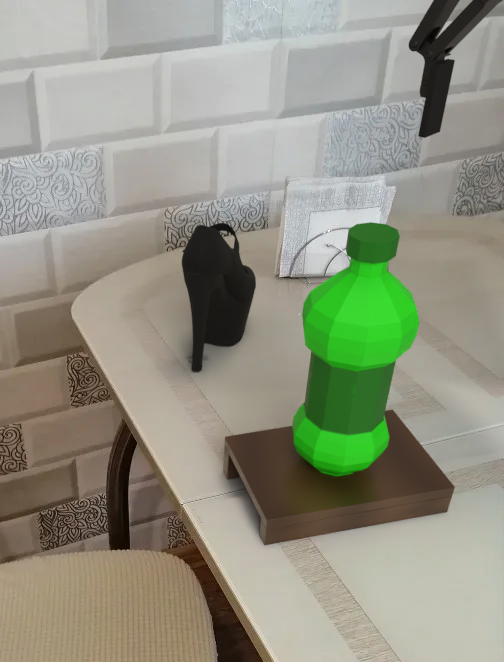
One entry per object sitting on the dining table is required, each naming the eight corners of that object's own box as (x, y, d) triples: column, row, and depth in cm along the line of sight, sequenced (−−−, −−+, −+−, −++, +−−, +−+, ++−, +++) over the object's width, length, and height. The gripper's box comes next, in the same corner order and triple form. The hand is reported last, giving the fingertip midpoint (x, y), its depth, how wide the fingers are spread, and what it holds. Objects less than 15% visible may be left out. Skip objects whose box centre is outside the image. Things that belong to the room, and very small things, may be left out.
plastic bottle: (377, 431, 88) (424, 208, 71) (390, 495, 80) (446, 260, 63) (285, 428, 89) (310, 207, 72) (289, 490, 81) (318, 259, 64)
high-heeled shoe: (262, 317, 117) (273, 181, 104) (217, 385, 105) (223, 239, 91) (211, 308, 120) (215, 174, 107) (161, 372, 107) (159, 229, 94)
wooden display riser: (385, 443, 94) (392, 409, 91) (444, 522, 84) (455, 487, 81) (222, 470, 91) (224, 436, 88) (263, 556, 81) (267, 520, 78)
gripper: (398, -134, 67) (359, 131, 81) (719, -130, 53) (605, 191, 67) (447, -139, 71) (402, 115, 85) (759, -137, 57) (644, 169, 70)
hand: (491, 149), depth 76 cm, fingers open, 13 cm apart
